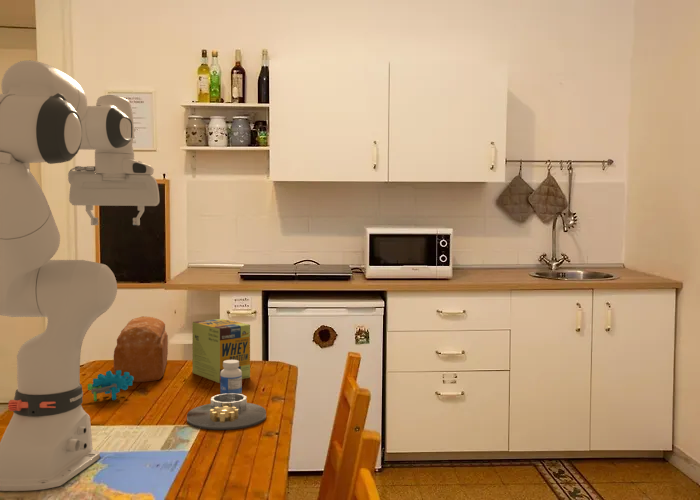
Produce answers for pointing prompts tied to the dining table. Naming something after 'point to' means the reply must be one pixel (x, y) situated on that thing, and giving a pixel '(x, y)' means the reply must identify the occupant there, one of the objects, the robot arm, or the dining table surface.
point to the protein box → (220, 347)
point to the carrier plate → (242, 422)
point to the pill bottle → (231, 377)
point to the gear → (110, 383)
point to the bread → (142, 349)
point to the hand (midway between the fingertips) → (115, 225)
